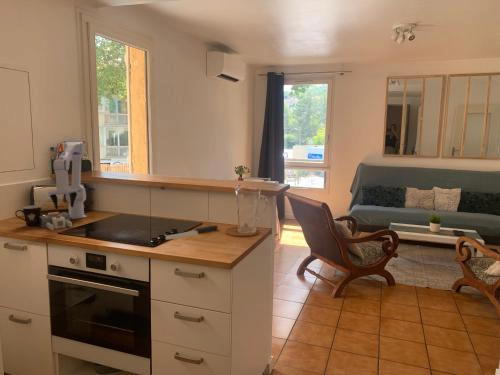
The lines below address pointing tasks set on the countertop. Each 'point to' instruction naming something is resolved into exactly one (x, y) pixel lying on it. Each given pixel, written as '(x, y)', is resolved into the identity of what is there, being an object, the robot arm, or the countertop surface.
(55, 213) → the block
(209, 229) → the kitchen knife
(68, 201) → the robot arm
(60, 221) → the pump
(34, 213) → the coffee mug
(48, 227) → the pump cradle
